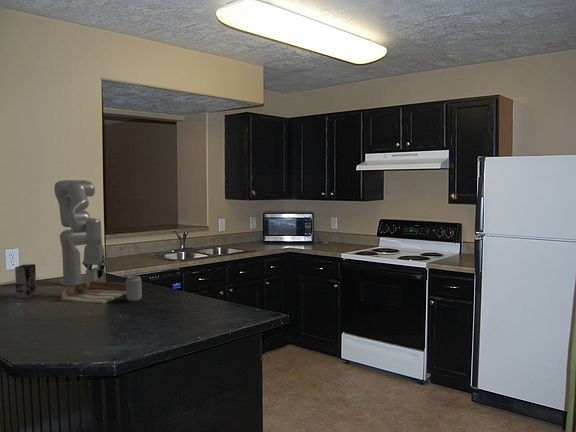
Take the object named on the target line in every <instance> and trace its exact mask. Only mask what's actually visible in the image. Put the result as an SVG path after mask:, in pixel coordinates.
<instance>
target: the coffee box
mask: <svg viewBox="0 0 576 432" xmlns="http://www.w3.org/2000/svg"><path fill="white" fill-rule="evenodd" d="M14 268H15V269H14V271H15V274H14V275H15V297H16V298H17V299H19V298H20V299H22V298H23V299H24V298H25V299H28V298H30V297H31V298H32V296H33V297H34V296H35V295H37V294H38V293H37V272H36V271H37V269H36V264H34V263H33V264H30V263H28V264H22V265H18V266H16V267H14Z"/></svg>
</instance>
